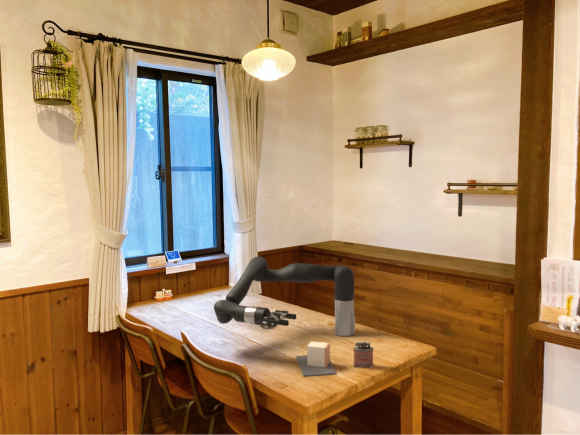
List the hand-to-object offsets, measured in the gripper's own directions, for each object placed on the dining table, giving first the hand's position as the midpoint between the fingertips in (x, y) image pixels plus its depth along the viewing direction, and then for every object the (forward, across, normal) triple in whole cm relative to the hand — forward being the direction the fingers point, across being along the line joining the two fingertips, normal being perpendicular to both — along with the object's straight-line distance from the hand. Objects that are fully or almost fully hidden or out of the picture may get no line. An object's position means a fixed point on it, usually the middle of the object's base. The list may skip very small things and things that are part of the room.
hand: (292, 320), depth 182 cm
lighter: (+28, -6, -18) cm, 34 cm away
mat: (+10, 0, -18) cm, 20 cm away
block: (+7, -1, -13) cm, 15 cm away
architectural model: (-30, -36, -19) cm, 50 cm away
